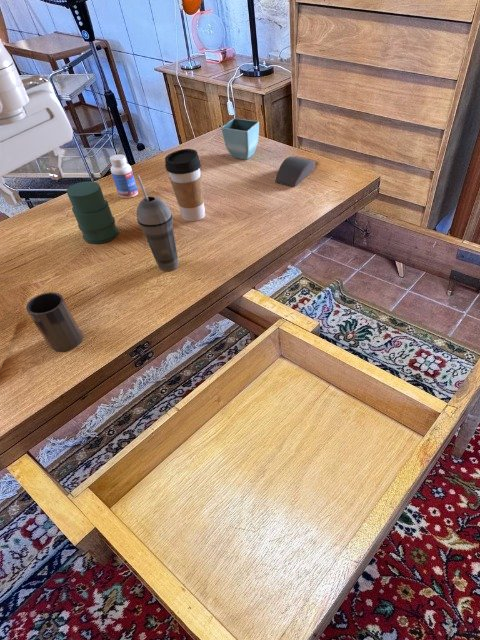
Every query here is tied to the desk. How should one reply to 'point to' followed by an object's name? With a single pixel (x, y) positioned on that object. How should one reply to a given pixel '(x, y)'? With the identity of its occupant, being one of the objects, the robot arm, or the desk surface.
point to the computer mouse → (294, 170)
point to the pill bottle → (123, 176)
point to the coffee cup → (187, 182)
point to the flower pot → (241, 137)
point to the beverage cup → (158, 230)
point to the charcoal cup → (55, 321)
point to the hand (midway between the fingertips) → (37, 190)
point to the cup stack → (92, 212)
